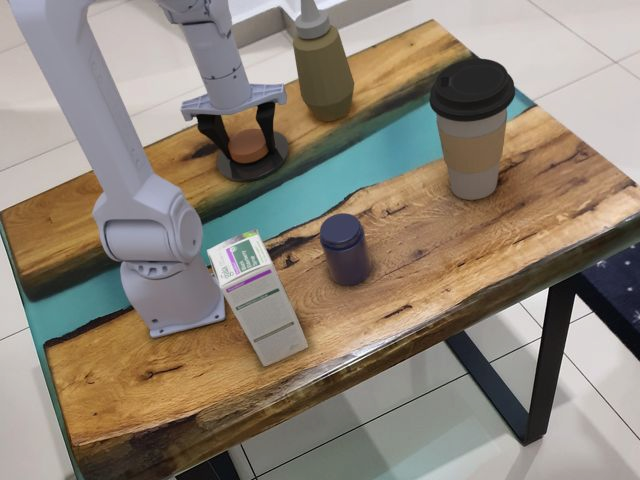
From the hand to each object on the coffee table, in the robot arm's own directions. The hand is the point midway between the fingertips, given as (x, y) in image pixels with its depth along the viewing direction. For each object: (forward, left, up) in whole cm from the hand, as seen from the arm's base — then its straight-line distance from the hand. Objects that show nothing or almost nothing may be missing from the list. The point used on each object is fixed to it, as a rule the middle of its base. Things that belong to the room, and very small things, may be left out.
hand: (251, 151), depth 95 cm
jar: (+10, -27, -1) cm, 29 cm away
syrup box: (0, -35, -1) cm, 35 cm away
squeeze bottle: (+13, +6, -1) cm, 14 cm away
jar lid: (0, 0, +2) cm, 2 cm away
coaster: (0, 0, -1) cm, 1 cm away
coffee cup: (+28, -18, -1) cm, 33 cm away
